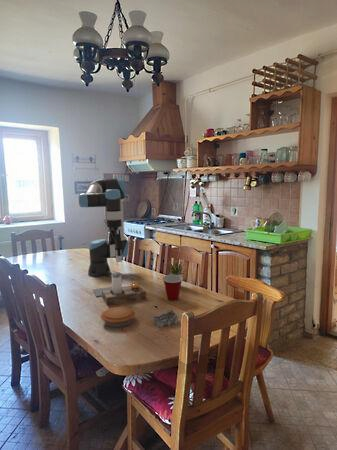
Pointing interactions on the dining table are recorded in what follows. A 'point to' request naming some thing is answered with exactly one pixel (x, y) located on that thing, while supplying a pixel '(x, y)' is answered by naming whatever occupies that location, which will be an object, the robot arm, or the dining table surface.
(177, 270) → the house plant
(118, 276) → the cartridge
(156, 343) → the dining table surface
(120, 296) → the housing
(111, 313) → the pie
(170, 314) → the egg carton
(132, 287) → the release button
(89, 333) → the dining table surface
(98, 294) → the mat
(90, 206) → the robot arm
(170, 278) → the plastic cup
